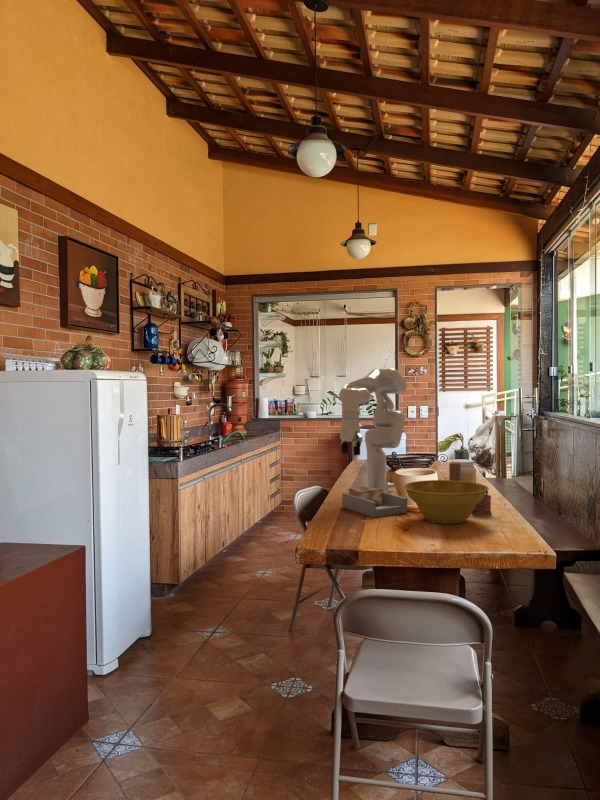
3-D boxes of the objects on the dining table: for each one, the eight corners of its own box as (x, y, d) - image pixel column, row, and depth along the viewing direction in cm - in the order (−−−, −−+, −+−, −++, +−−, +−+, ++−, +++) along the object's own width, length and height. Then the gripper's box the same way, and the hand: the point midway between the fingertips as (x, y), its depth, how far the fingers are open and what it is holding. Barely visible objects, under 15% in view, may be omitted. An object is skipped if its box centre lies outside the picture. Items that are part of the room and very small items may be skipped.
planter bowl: (390, 514, 233) (389, 481, 233) (460, 509, 242) (459, 477, 241) (427, 533, 202) (427, 495, 202) (506, 526, 211) (506, 490, 210)
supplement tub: (456, 492, 279) (456, 458, 278) (480, 495, 271) (480, 460, 271) (444, 496, 270) (444, 460, 269) (469, 499, 262) (469, 463, 261)
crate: (370, 500, 254) (370, 486, 254) (382, 504, 246) (382, 489, 245) (348, 503, 248) (348, 488, 248) (360, 507, 240) (360, 491, 240)
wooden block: (471, 503, 253) (471, 463, 252) (470, 505, 249) (470, 464, 248) (450, 502, 256) (450, 462, 255) (449, 504, 252) (449, 463, 251)
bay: (374, 502, 256) (374, 489, 256) (407, 512, 235) (407, 498, 235) (342, 506, 248) (342, 493, 248) (373, 517, 227) (373, 502, 227)
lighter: (491, 513, 233) (491, 488, 233) (490, 514, 230) (490, 490, 230) (471, 511, 237) (471, 487, 236) (470, 513, 234) (470, 488, 233)
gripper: (333, 415, 262) (333, 452, 262) (354, 417, 247) (354, 456, 247) (346, 414, 265) (347, 451, 266) (368, 416, 250) (368, 455, 251)
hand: (350, 453), depth 256 cm, fingers open, 9 cm apart
